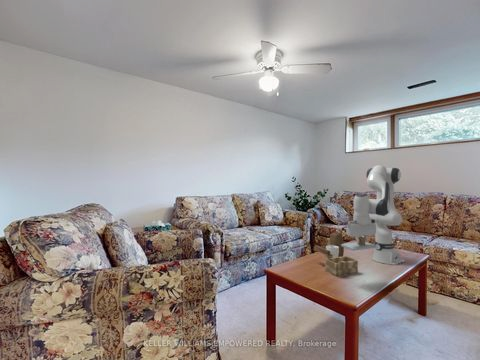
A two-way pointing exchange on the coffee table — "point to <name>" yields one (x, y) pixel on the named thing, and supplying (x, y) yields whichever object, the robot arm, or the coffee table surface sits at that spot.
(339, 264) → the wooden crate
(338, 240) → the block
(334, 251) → the cup
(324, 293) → the coffee table surface
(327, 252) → the bar
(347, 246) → the lid
